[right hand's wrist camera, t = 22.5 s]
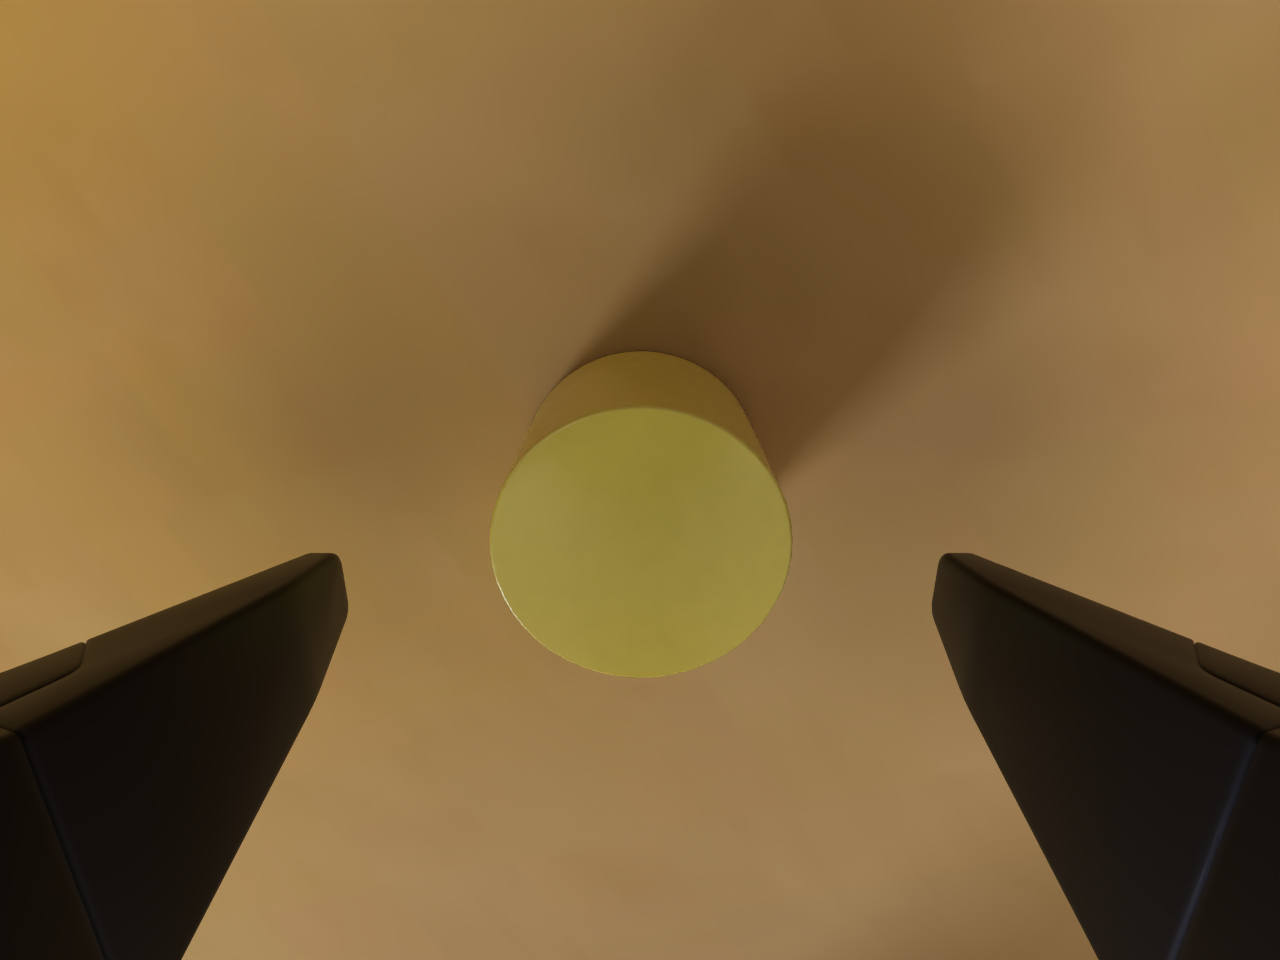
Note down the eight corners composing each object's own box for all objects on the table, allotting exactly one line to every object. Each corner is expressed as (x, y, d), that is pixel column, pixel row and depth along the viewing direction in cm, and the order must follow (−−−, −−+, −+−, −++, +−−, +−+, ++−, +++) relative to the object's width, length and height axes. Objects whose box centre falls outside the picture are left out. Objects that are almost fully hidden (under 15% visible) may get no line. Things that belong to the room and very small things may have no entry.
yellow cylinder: (579, 309, 14) (558, 352, 10) (797, 410, 15) (850, 483, 11) (492, 516, 16) (446, 616, 12) (693, 597, 17) (708, 716, 13)
